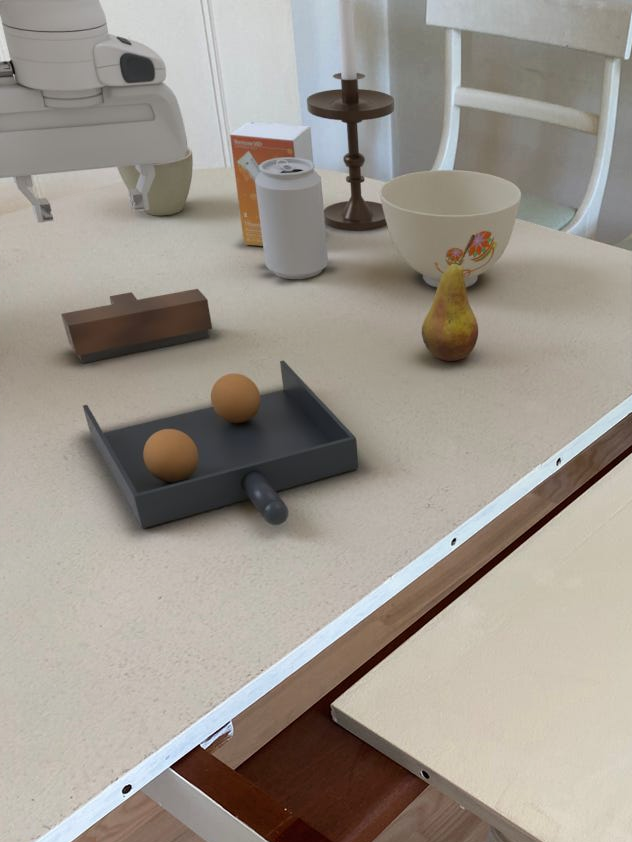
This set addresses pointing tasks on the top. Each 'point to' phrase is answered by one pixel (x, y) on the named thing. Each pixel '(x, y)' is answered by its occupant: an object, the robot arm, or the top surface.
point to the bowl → (450, 220)
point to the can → (291, 217)
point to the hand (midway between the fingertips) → (93, 214)
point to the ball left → (170, 455)
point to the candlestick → (351, 127)
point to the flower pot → (164, 184)
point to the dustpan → (233, 455)
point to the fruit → (451, 317)
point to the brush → (137, 324)
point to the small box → (253, 149)
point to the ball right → (235, 398)
